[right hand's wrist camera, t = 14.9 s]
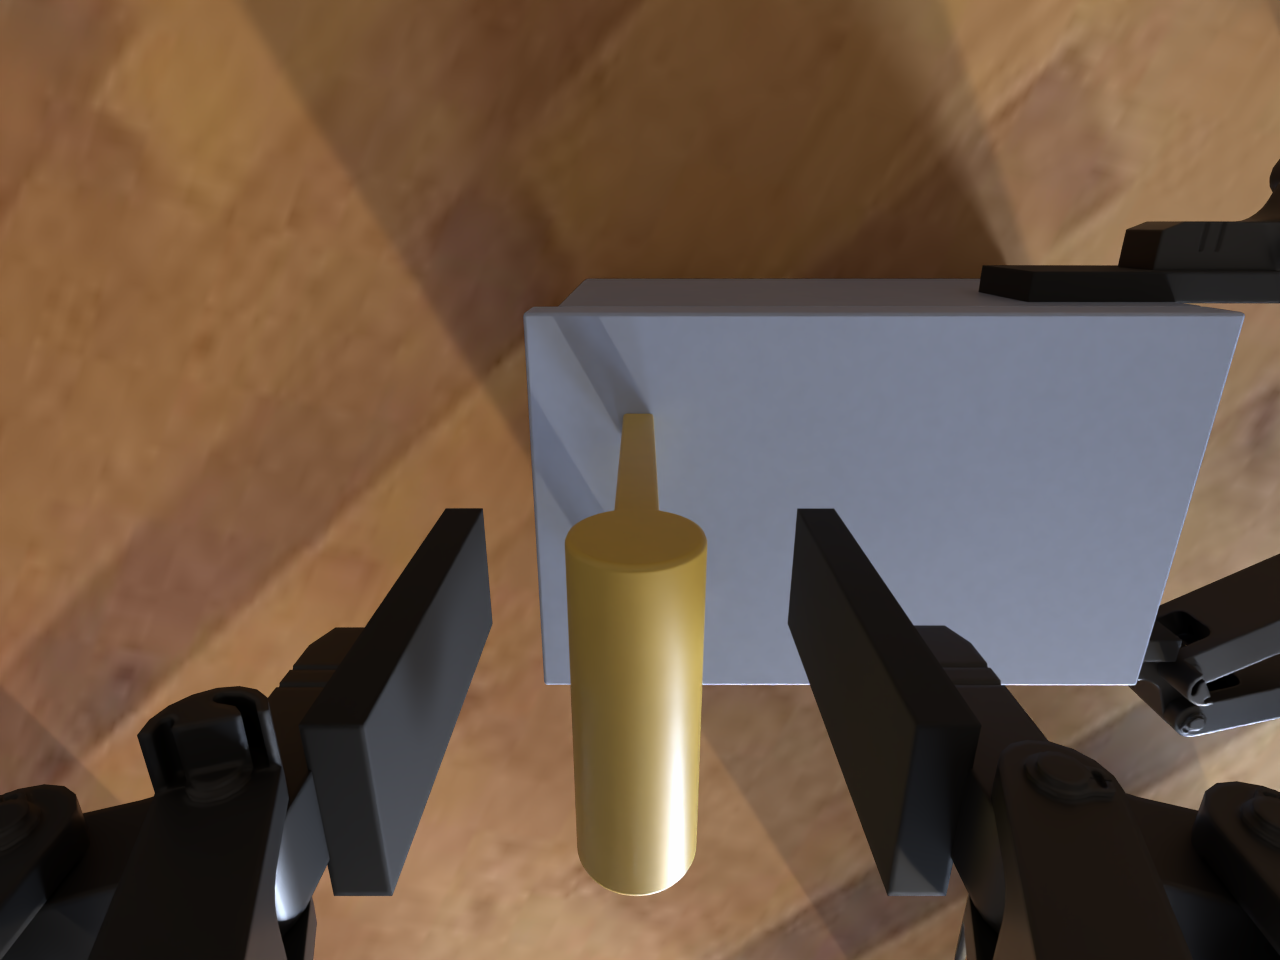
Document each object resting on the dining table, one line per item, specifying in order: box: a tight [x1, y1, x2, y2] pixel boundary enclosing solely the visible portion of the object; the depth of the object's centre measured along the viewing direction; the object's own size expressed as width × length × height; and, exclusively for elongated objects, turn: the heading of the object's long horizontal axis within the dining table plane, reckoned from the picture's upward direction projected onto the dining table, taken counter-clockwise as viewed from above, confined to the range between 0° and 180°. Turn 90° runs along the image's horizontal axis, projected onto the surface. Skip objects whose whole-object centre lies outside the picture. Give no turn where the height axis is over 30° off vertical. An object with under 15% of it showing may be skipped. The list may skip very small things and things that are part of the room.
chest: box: [558, 279, 1201, 307], centre depth 22 cm, size 15×10×9 cm, turn 90°
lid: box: [523, 307, 1245, 896], centre depth 14 cm, size 16×10×9 cm, turn 90°
